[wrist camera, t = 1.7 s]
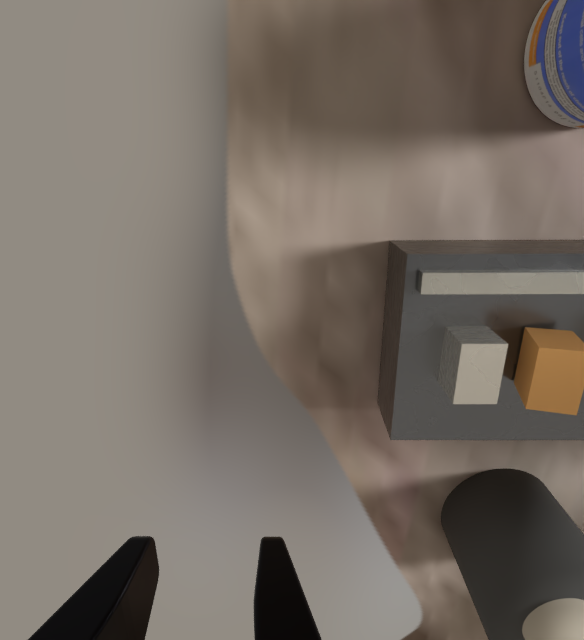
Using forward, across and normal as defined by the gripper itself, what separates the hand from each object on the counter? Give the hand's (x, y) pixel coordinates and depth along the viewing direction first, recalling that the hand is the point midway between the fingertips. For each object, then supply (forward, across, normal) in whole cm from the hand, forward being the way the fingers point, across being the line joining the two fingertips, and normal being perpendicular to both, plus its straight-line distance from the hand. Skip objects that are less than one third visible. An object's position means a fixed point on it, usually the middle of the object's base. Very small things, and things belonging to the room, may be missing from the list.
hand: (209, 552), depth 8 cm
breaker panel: (+12, -13, 0) cm, 17 cm away
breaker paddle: (+9, -11, 0) cm, 14 cm away
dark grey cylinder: (+12, -13, +11) cm, 21 cm away
